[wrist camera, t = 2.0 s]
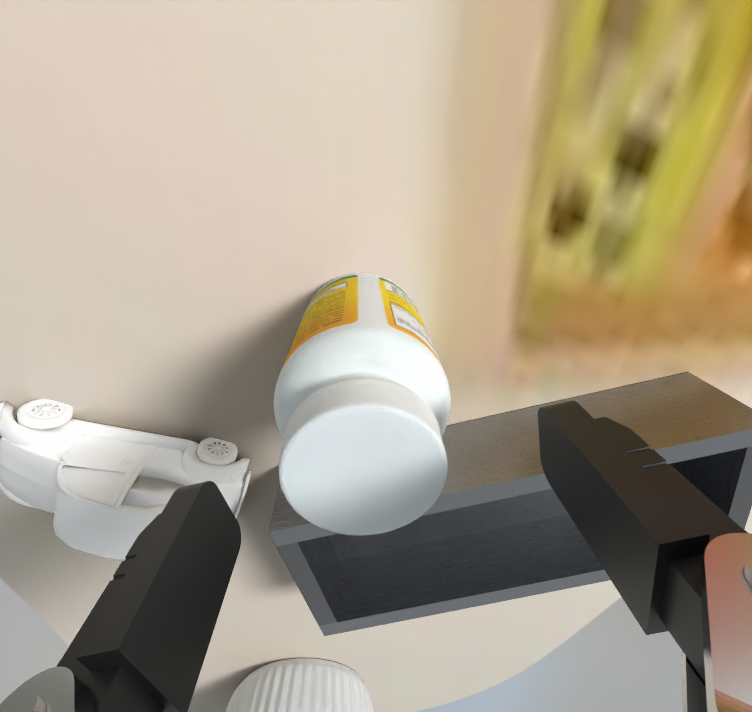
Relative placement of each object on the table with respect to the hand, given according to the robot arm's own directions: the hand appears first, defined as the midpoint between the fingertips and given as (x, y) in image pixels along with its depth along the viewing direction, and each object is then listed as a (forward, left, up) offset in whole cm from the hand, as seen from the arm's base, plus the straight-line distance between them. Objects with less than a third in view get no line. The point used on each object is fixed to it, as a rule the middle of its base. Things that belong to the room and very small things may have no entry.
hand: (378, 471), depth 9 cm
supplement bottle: (0, 0, -9) cm, 9 cm away
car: (+4, -14, -10) cm, 17 cm away
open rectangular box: (+11, +5, -9) cm, 15 cm away
